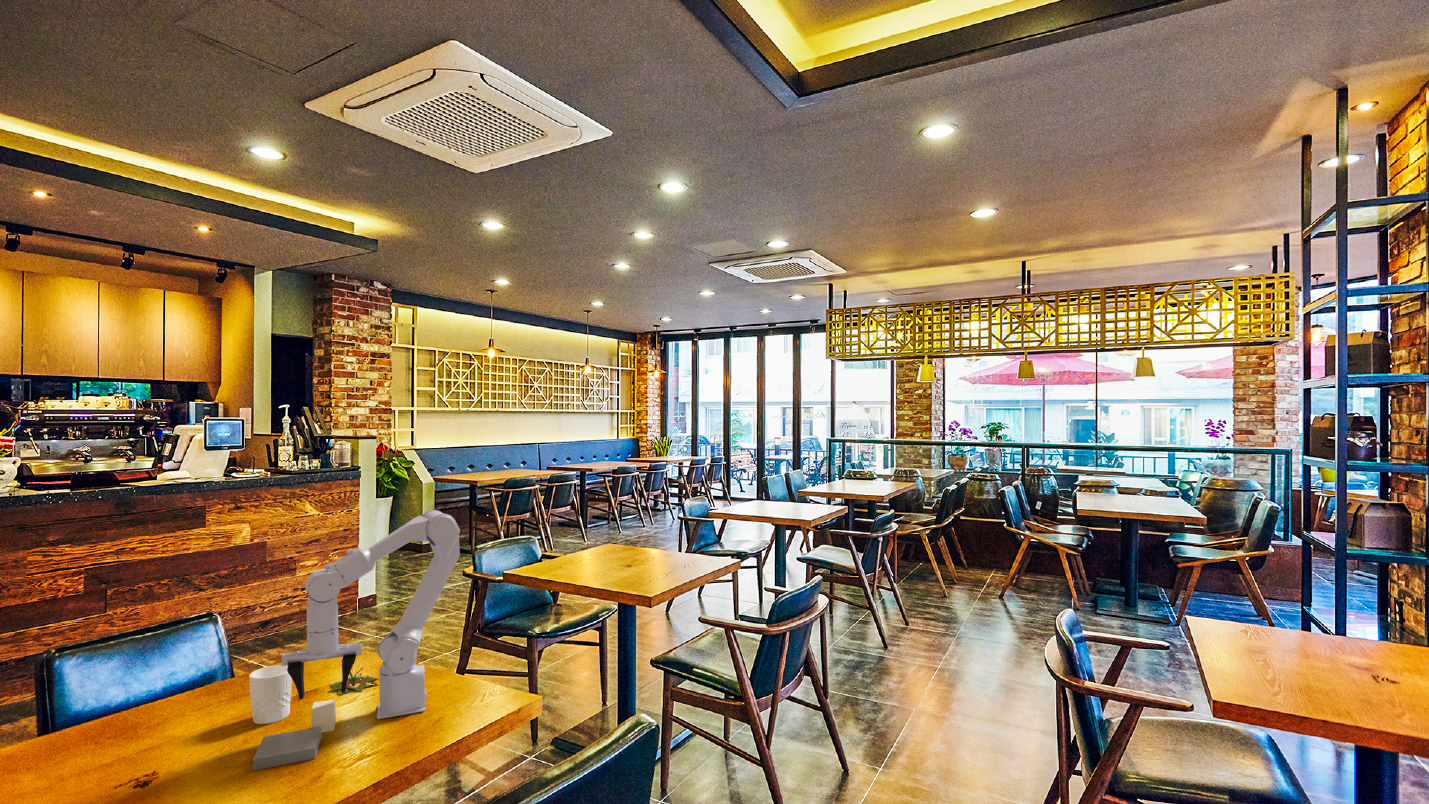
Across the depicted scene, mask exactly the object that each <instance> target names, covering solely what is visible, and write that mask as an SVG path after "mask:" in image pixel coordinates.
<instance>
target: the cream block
mask: <svg viewBox="0 0 1429 804" xmlns="http://www.w3.org/2000/svg"><path fill="white" fill-rule="evenodd" d="M312 704H313V705H312V707H311V710H310V711H311V713H310V715H311V718H310V719H311V723H310V724H311V728H315V727H321V733H322V734H323V733H326V732H327V733H328V732H333V731H335V727H336V721H337V720H336V713H337V712H336V699H335V698H334V699H329V700H328V699H327V700H322V701H321V700H320V701H315V702H313V703H312Z"/></svg>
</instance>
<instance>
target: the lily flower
mask: <svg viewBox="0 0 1429 804" xmlns="http://www.w3.org/2000/svg"><path fill="white" fill-rule="evenodd" d="M359 667H360V666H359V665H358V666H357V668H359ZM363 668H364V666H362V667H361V668H360V669H359V670H358V669H356V671H355V673H354V674H353V672H354V671H353V669H351V671H350V674H349V676H348V680H347V685H346V689H349V690H346V692H345V693H342V690H341V688H342V681H337V682H334V683H331V684H329V686H332V687H331V688H330V689H329V690H328V691H327V693H329V692H332V691H335V690H337V693H338V696H341V695H343V694H346V693H348V692H352V691H355V690H356V691H359V692H362V693H363V690H364V688H367V687H368V685H366V684H365V683H367V682H371V684H378V683H377V682H375V681H373V679H374V680H379V678H378V677H373V676H369V675H368V674H366V675H362V674H363V672H361V671H363ZM357 670H358V671H357ZM358 674H359V675H358ZM357 675H358V676H357ZM365 676H367V677H365ZM364 677H365V678H364ZM360 679H361V680H360ZM350 684H351V685H350ZM356 684H359V685H357V686H356ZM350 686H352V687H350ZM373 686H375V685H373Z"/></svg>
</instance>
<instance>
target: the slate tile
mask: <svg viewBox="0 0 1429 804" xmlns="http://www.w3.org/2000/svg"><path fill="white" fill-rule="evenodd" d="M322 734H323V732H322V733H321V727H315V728H310V727H309V728H304V729H299V730H293V731H288V732H282V733H277V734H272V735H270V734H269V735H265V736H264V735H263V737H262V739H261V741H260V744H259V745H258V748H257V750H256V752H255V755H254V756H253V758H252V771H258V770H264V769H268V768H273V767H279V766H283V765H284V766H285V765H290V764H293V763H299V762H304V761H305V762H306V761H310V760H314V759H315V760H316V758H317V754H318V752H319V747H320V742H321V740H322V736H323V735H322Z"/></svg>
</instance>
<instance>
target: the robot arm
mask: <svg viewBox="0 0 1429 804" xmlns="http://www.w3.org/2000/svg"><path fill="white" fill-rule="evenodd" d="M460 532H461V529H460V527H459V525H458V523H457V522H456V519H455V518H454V517H453V516H452V515H450V514H447V513H444V512H442V511H440V510H438V509H430V510H427V511H426V512H424V513H423V514H422V515H418V516H415V517H413V519H411V520H409V521H408V522H406V523H405V524H403V525H402V526H400V527H398V528H397V529H396V530H394V531H393V532H391V533H389V534H387V535H386V536H385V537H383V538H382V539H380V540H378V541H377V542H376V543H374V544H373V545H371V546H370V547H368V548H362V547H357V548H356V549H352V548H350V549H347V551H345V553H346V555H344V556H343V557H340V558H339V559H337V560H335V561H334V562H332V563H329V562H328V563H326V564H325V565H324V566H323V568H324V569H317V570H315V571H313V572H312V573H311V574H309V576H308V578H307V579H306V580H305V584H304V586H303V587H304V589H305V592H306V593H307V594H308V595H307V600H306V605H307V608H306V649H302V650H297V651H294V652H288V653H283V654H282V656H281V665H282V666H287V665H288V668H287V671H288V674H289V675H290V676H291V678H292V681H293V684H294V686H295V688H296V691H297V694H298V700H300V701H301V700H303V699H304V697H305V680H304V679H305V677H304V675H305V663H306V662H314V661H324V660H330V659H336V658H342V660H341V676H342V677H341V678H342V679H341V682H342V688H341V690H342V693H344V694H346V693H347V692H346V691H347V688H346V685H347V680H348V679H349V678H348V677H350V672H352V670H353V666H354V664H355V663H356V662H355V661H356V658H357V656H358V657H359V656H362V653H363V643H355V644H354V643H353V644H351V643H350V644H339V604H338V595H339V594H340V592H341V590H342V588H346V587H348V586H349V585H351V584H352V583H354V582H356V581H357V580H359V579H360V578H362V577H364V576H366V575H367V574H369V573H370V572H371V571H373V570H374V567H375V565H376V562H377V561H378V560H380V559H383V558H384V557H385V556H387V555H389V554H391V553H393V552H395V551H396V550H398V549H400V548H402V547H403V546H405V545H407V544H409V543H410V542H411V543H412V542H427V541H428V542H429V545H430V547H431V550H432V553H433V557H432V559H431V561H430V563H429V565H428V567H427V569H426V571H425V572H424V574H423V576H422V578H421V579H420V582H419V584H418V586H417V587H416V590H415V591H414V594H413V595H412V597H411V599H410V601H409V603H408V605H407V607H406V609H405V610H404V613H403V614H402V616H401V618H400V620H399V621H398V622H397V623H396V624H394V626H393V627H392V628H391V630H390V632H389V633H388V634H387V635H386V636H385V637H383V639H381V640H380V642H379V644H378V646H377V654H378V657H379V658H380V659H381V660H382V663H381V666H380V667H379V668H378V669H379V670H378V677H379V679H378V680H379V681H378V684H379V685H378V686H379V692H378V693H379V696H378V697H379V703H378V704H377V712H376V720H381V719H382V720H383V719H386V718H387V719H388V718H393V717H394V718H395V717H398V716H404V715H411V714H416V713H421V712H425V711H426V700H427V689H426V685H425V681H426V680H425V677H426V676H425V675H426V674H425V672H426V671H425V665H424V664H423V665H422V664H420V665H419V664H417V665H416V661H417V657H418V656H417V655H418V653H417V652H418V648H419V646H420V644H421V639H422V631H423V628H424V626H425V624H426V623H427V621H428V619H429V617H430V615H431V614H432V611H433V609H434V607H435V605H436V603H437V602H438V599H439V597H440V595H441V594H442V592H443V590H444V587H445V586H446V584H447V582H448V581H449V578H450V575H451V574H452V572H453V570H454V569H455V566H456V564H457V562H458V561H459V559H460V555H461V553H460V550H461V549H460ZM345 692H346V693H345Z"/></svg>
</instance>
